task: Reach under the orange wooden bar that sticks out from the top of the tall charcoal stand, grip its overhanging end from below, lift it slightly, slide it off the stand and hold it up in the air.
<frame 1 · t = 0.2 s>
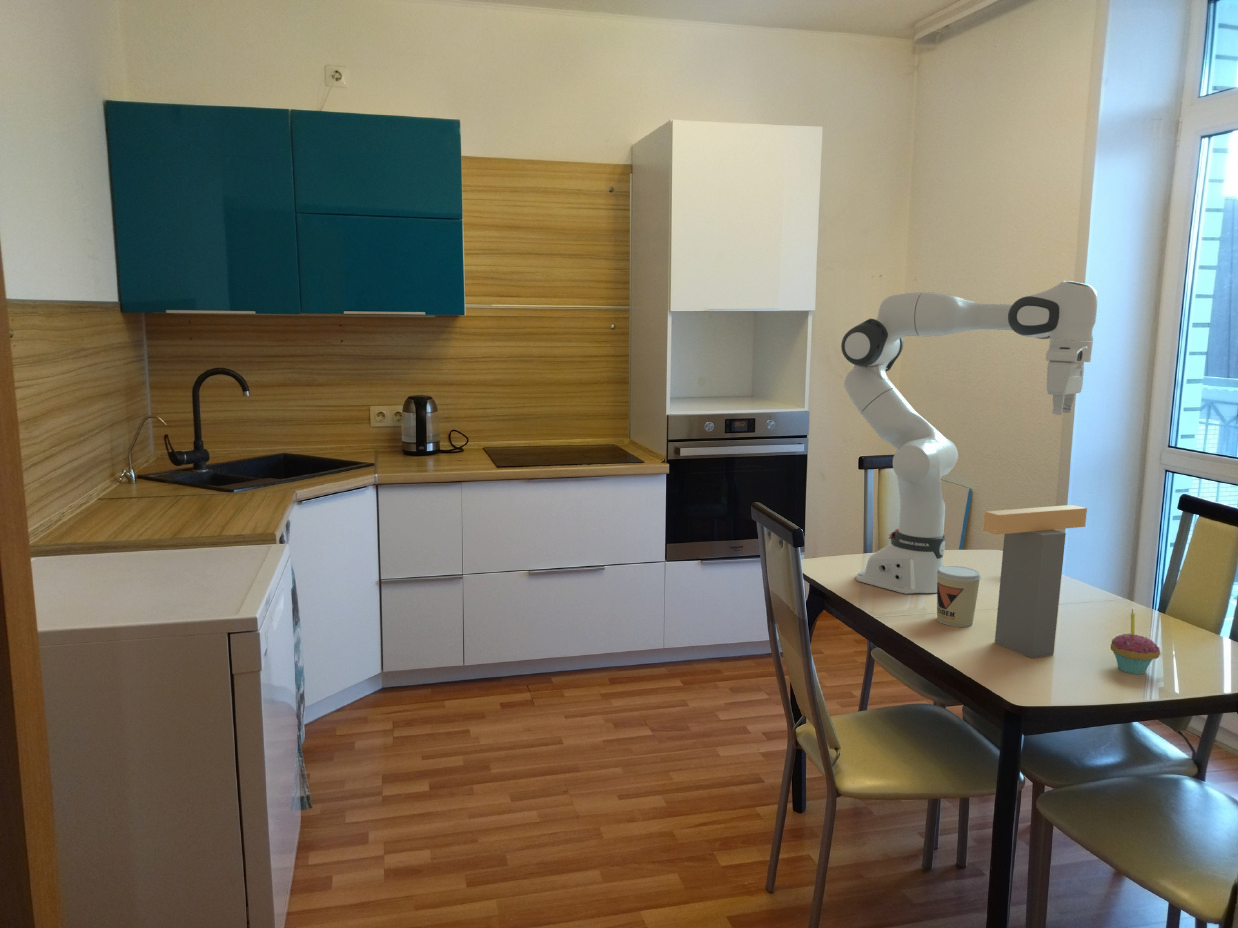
hand: (1061, 413, 205), 48 cm above the table, tool pointing down, fingers open, 8 cm apart
cupcake: (1132, 670, 177), on the table
bar: (1034, 528, 184), point 26 cm above the table, touching stand
coffee cup: (954, 622, 205), on the table
stand: (1023, 648, 188), on the table
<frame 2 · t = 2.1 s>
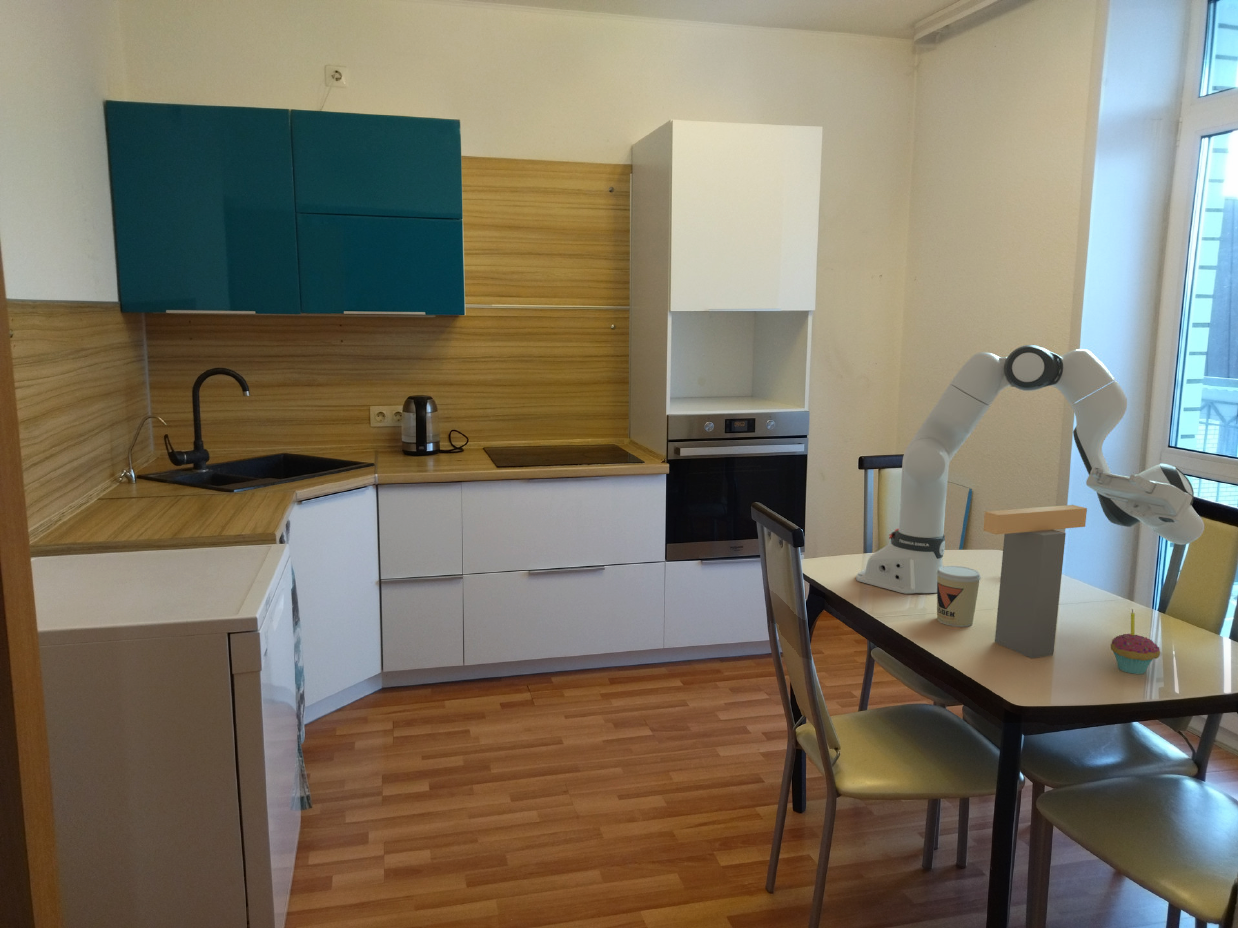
hand: (1113, 473, 190), 37 cm above the table, tool pointing upward, fingers open, 8 cm apart
nothing on the table moved.
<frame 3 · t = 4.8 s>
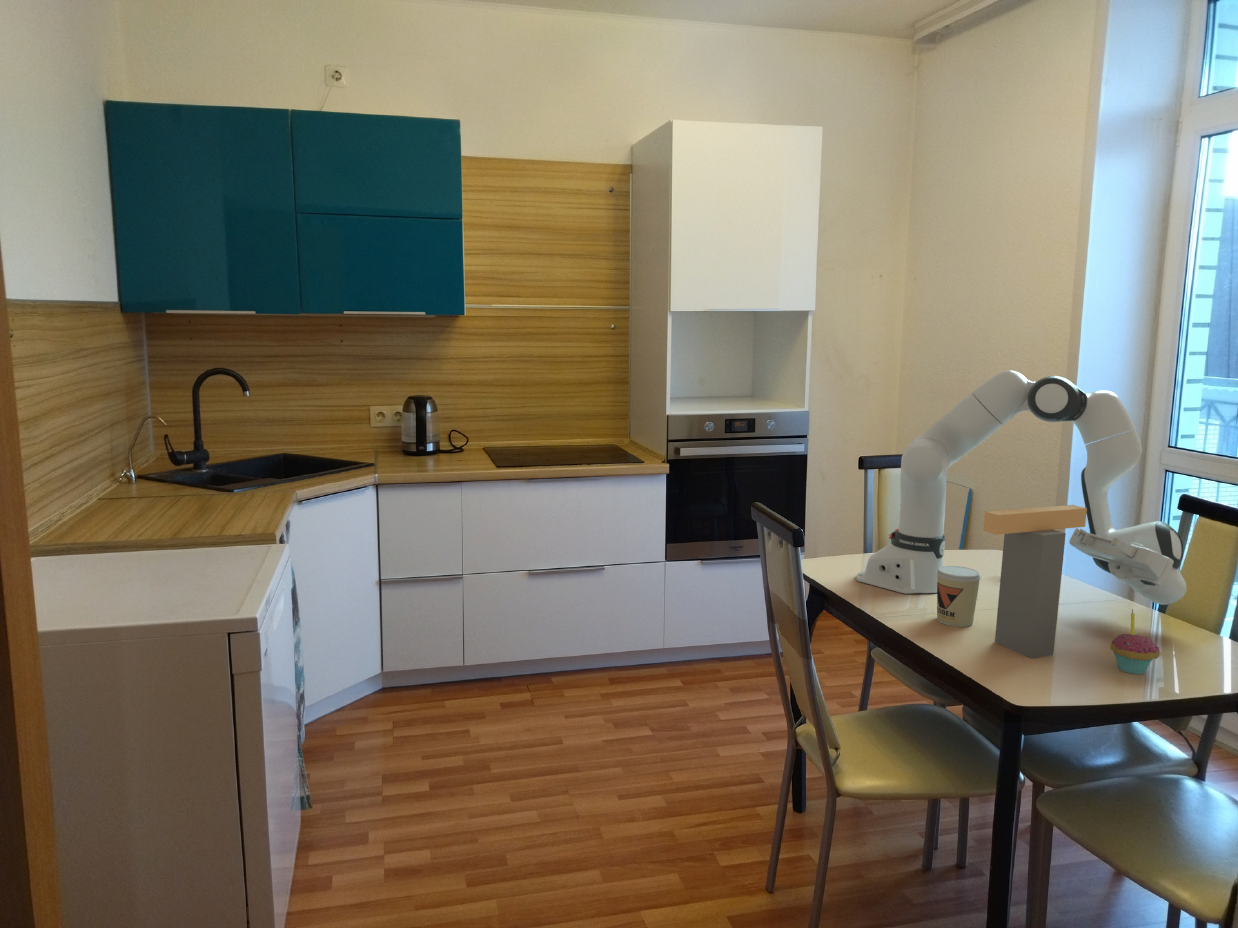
hand: (1095, 536, 191), 23 cm above the table, tool pointing upward, fingers open, 8 cm apart
nothing on the table moved.
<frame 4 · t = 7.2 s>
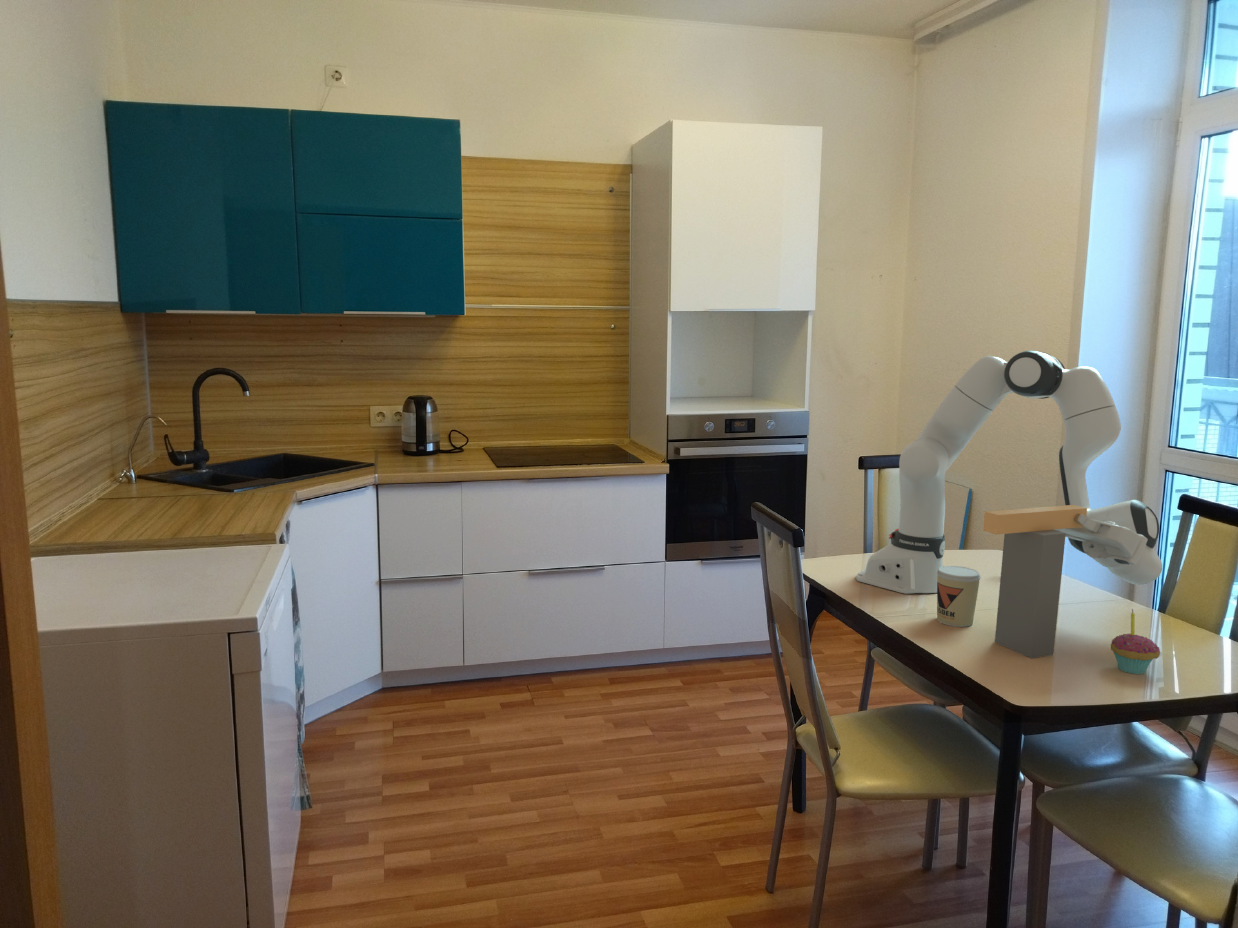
hand: (1067, 514, 187), 28 cm above the table, tool pointing upward, fingers closed on bar, 4 cm apart
bar: (1034, 528, 184), point 26 cm above the table, touching gripper, stand
everything else where it was.
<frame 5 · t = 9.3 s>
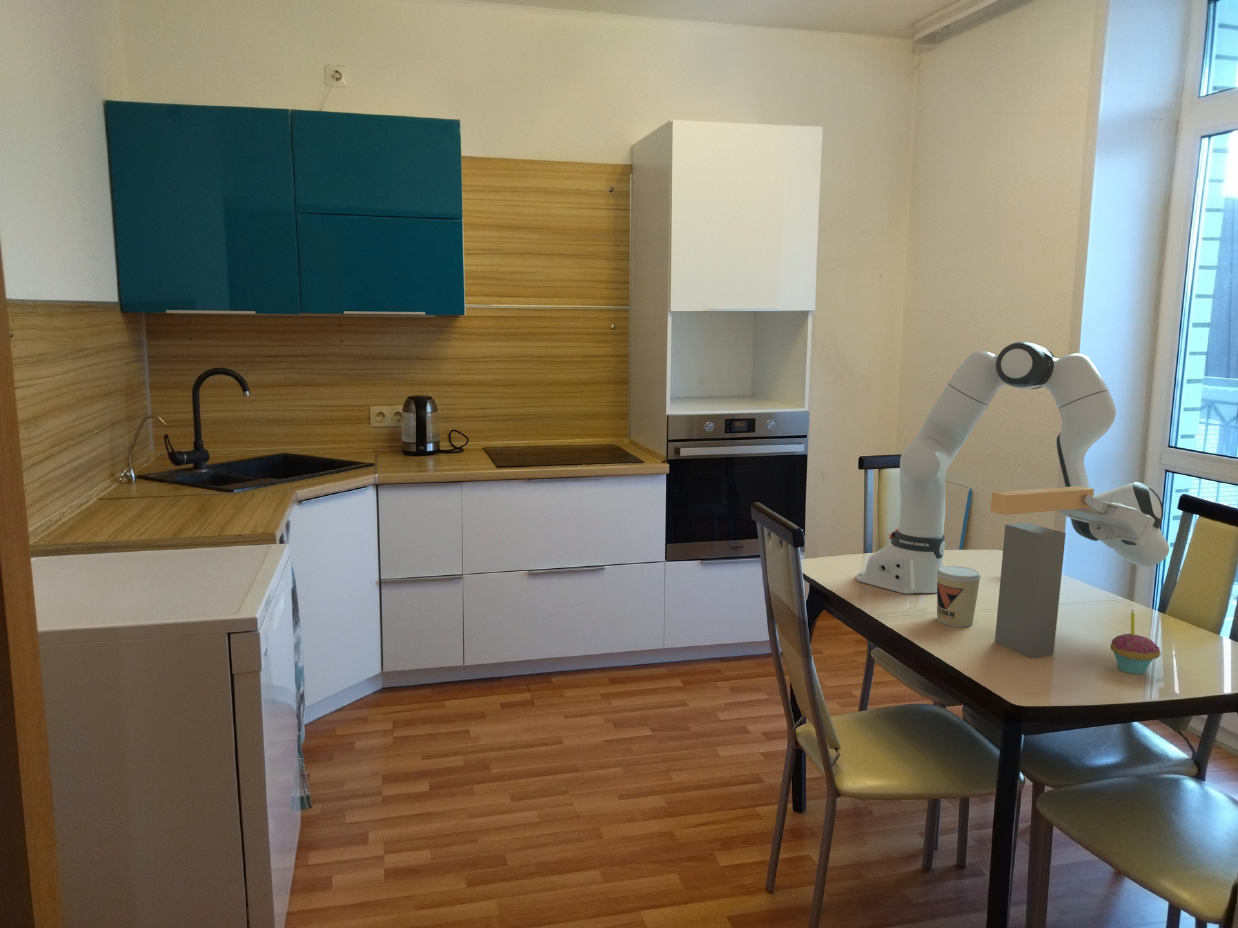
hand: (1074, 495, 186), 32 cm above the table, tool pointing upward, fingers closed on bar, 4 cm apart
bar: (1042, 509, 184), point 30 cm above the table, touching gripper
everything else where it was.
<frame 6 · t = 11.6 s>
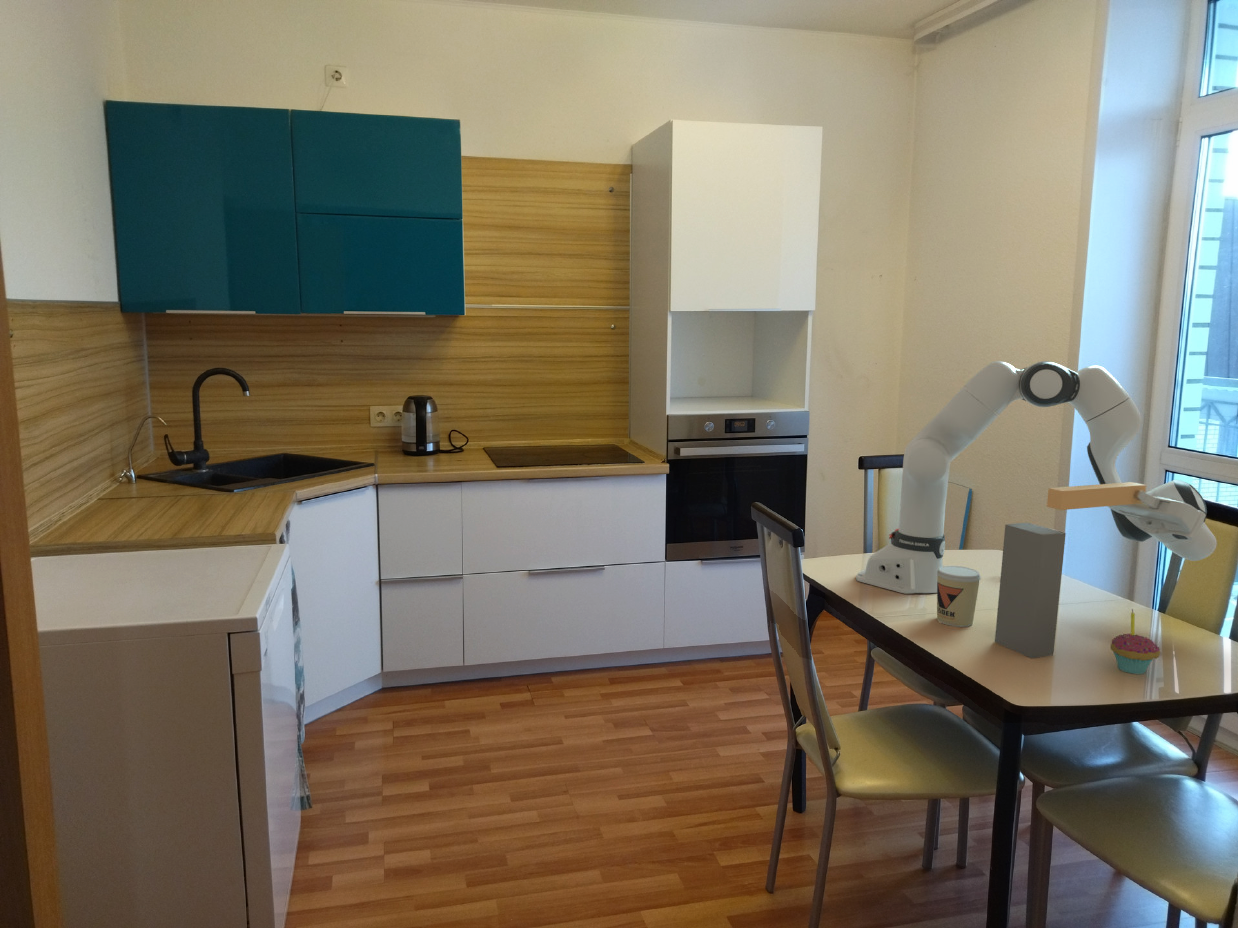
hand: (1127, 491, 192), 33 cm above the table, tool pointing upward, fingers closed on bar, 4 cm apart
bar: (1096, 504, 189), point 30 cm above the table, touching gripper
everything else where it was.
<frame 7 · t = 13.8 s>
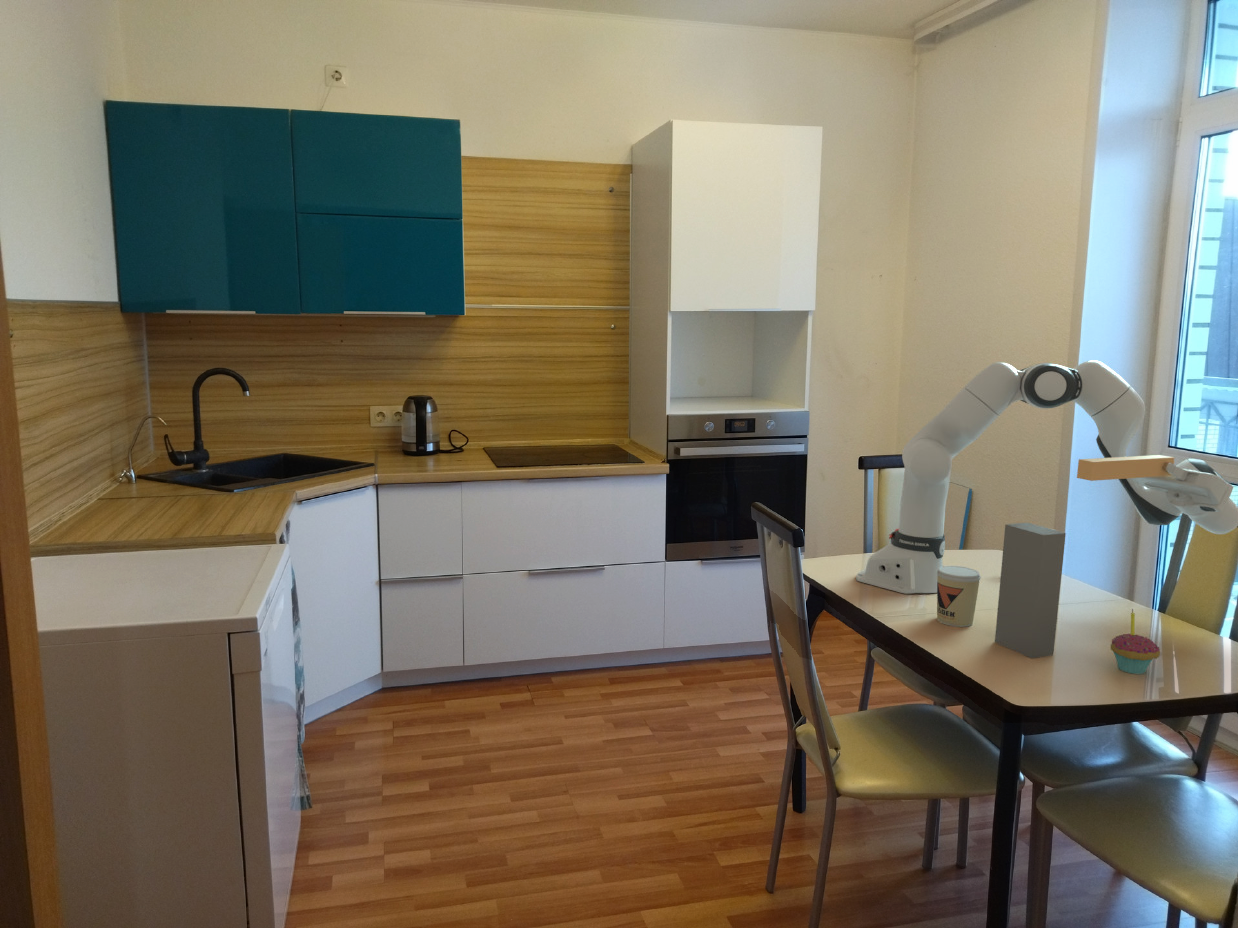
hand: (1155, 463, 194), 38 cm above the table, tool pointing upward, fingers closed on bar, 4 cm apart
bar: (1125, 476, 191), point 36 cm above the table, touching gripper
everything else where it was.
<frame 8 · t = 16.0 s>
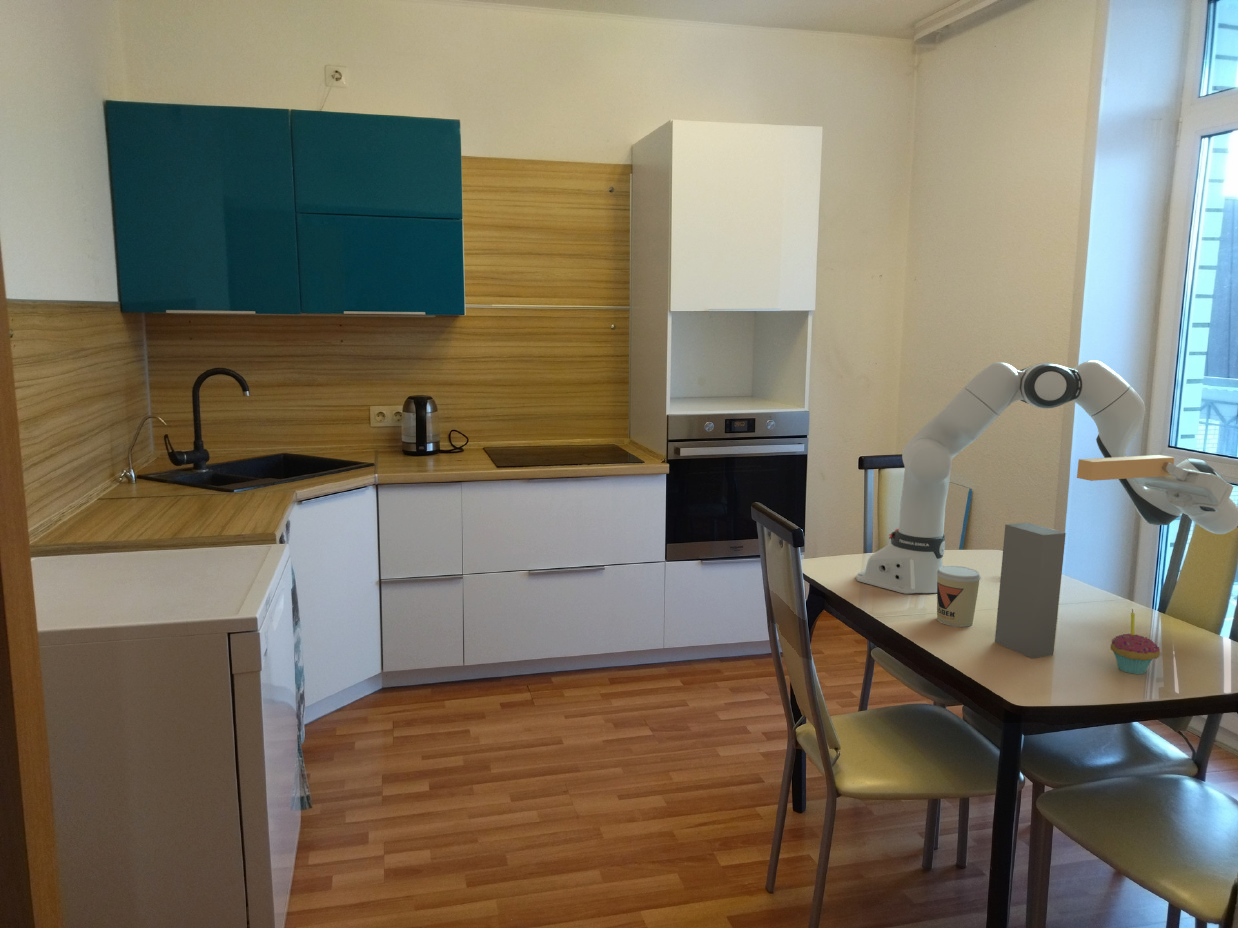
hand: (1155, 463, 194), 38 cm above the table, tool pointing upward, fingers closed on bar, 4 cm apart
bar: (1125, 476, 191), point 36 cm above the table, touching gripper
everything else where it was.
at the end: the gripper is holding bar; bar touching gripper; bar moved 26.0 cm from its start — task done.
